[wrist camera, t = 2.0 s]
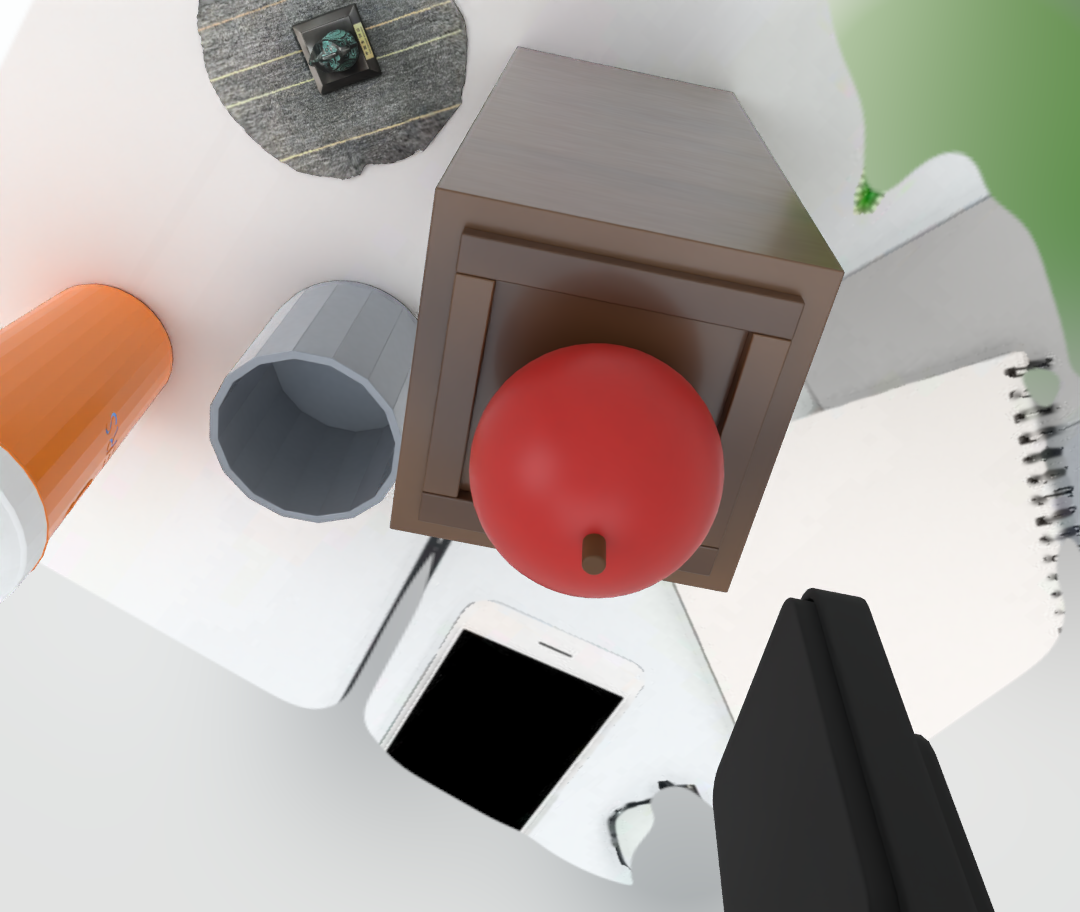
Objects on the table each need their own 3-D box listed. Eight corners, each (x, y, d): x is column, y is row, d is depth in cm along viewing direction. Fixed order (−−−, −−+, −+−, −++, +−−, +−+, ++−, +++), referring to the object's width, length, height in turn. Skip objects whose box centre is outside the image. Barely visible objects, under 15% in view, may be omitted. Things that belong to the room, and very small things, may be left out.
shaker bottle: (-7, 337, 53) (-306, 556, 35) (86, 230, 49) (-195, 414, 32) (128, 446, 56) (-87, 697, 38) (224, 352, 52) (36, 581, 35)
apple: (504, 283, 24) (471, 409, 18) (740, 330, 24) (782, 471, 18) (468, 484, 27) (429, 649, 21) (678, 525, 27) (697, 698, 21)
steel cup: (273, 264, 50) (210, 334, 42) (443, 299, 50) (412, 374, 42) (265, 414, 54) (207, 502, 46) (421, 444, 54) (391, 537, 47)
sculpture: (519, 28, 44) (434, 154, 41) (438, 115, 51) (362, 226, 49) (293, -181, 39) (180, -58, 37) (243, -51, 47) (147, 59, 44)
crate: (517, 46, 44) (432, 192, 23) (733, 92, 44) (850, 279, 23) (482, 257, 49) (385, 539, 28) (676, 297, 49) (729, 604, 28)
